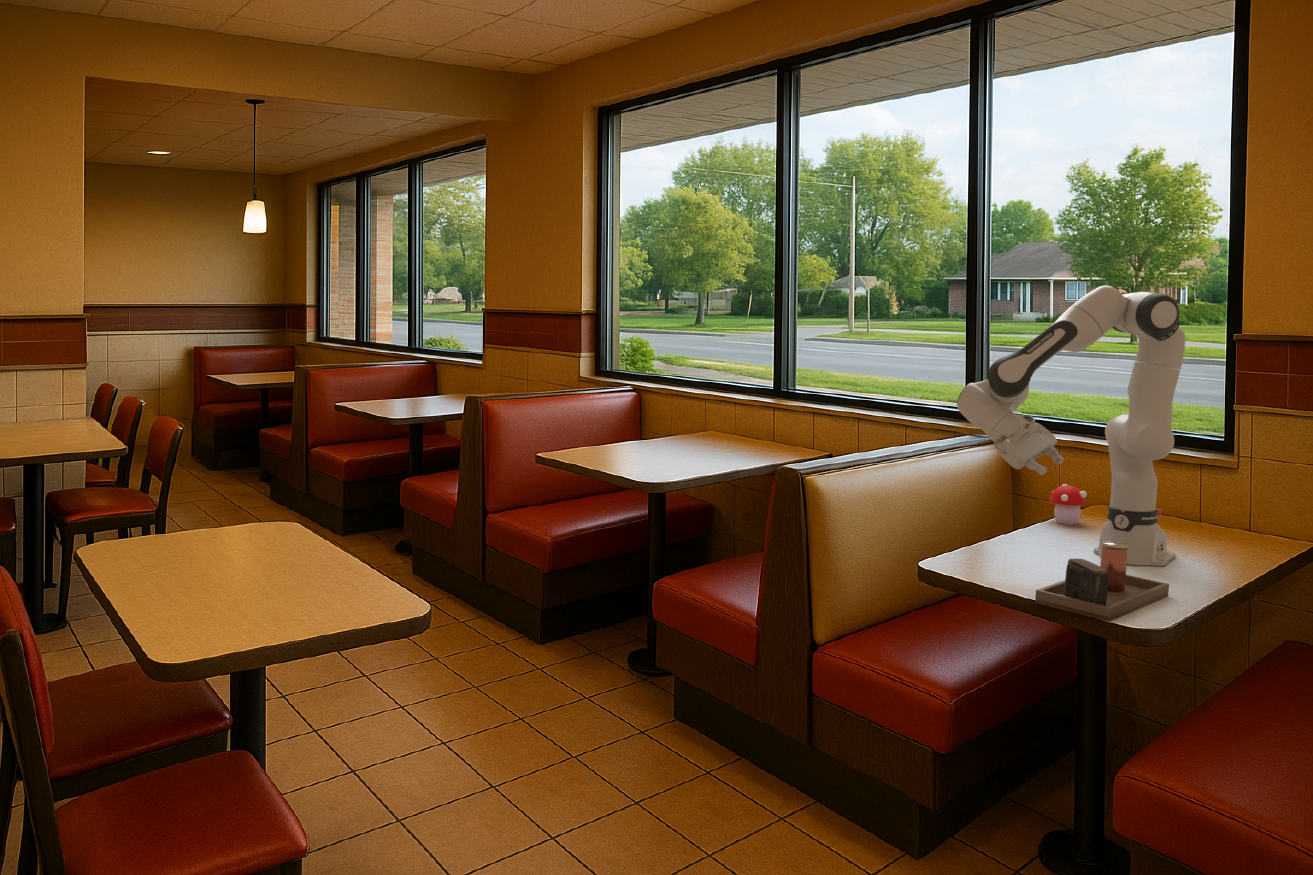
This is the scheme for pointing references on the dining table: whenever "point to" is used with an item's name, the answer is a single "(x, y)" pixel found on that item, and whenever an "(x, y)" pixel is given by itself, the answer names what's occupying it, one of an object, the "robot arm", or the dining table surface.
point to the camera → (1086, 581)
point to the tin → (1115, 564)
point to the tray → (1117, 603)
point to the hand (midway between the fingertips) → (1053, 467)
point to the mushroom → (1067, 503)
